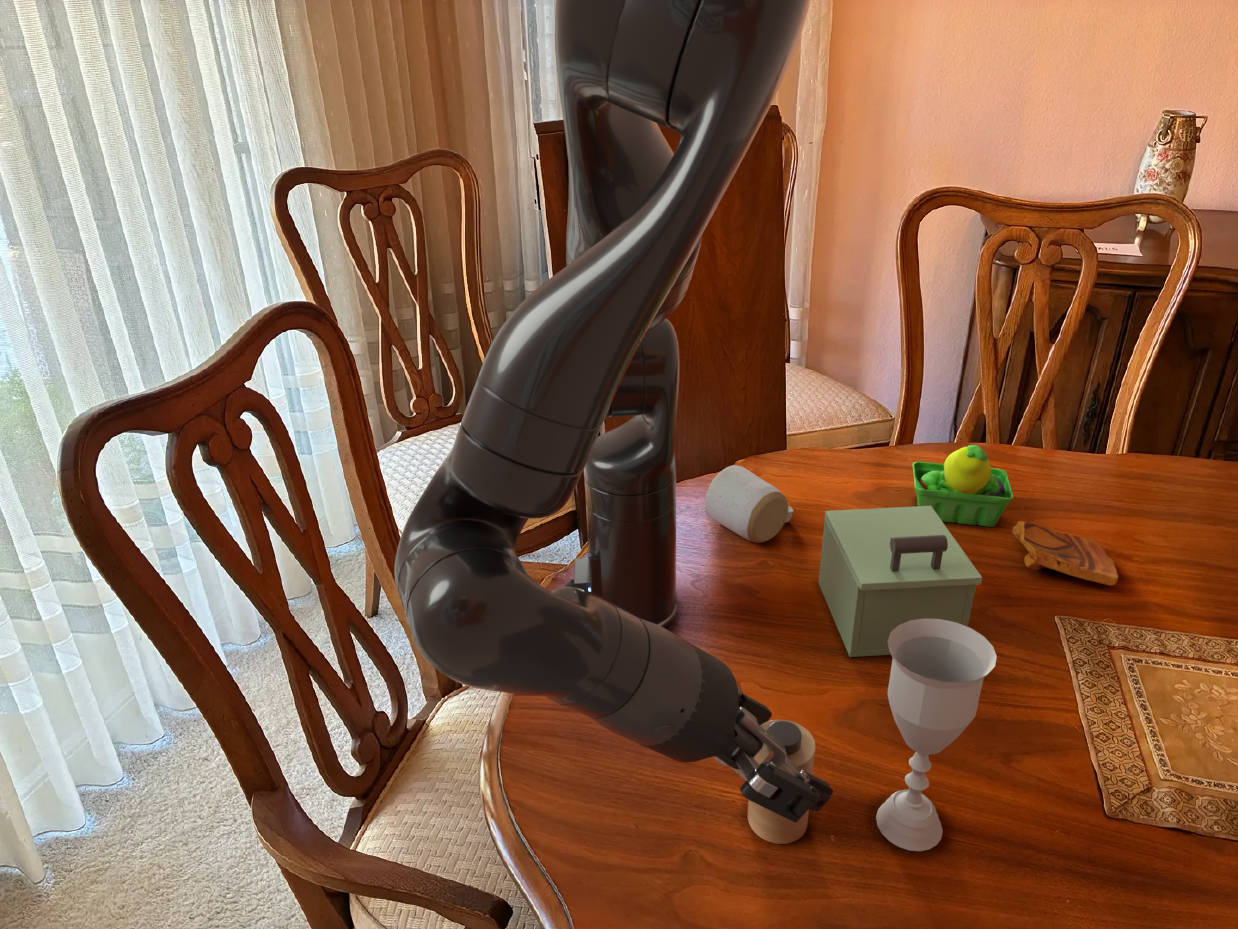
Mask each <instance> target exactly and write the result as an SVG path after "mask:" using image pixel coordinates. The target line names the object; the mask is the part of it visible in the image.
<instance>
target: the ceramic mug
mask: <svg viewBox="0 0 1238 929" xmlns="http://www.w3.org/2000/svg"><path fill="white" fill-rule="evenodd" d="M704 509H705V512H706V514H707V516H708V517H709V518H710V519H711V520H713V521H714V522H716V523H718V524H720V525H721V526H723V527H725V528H726V529H728V530H730V531H732V532H734V533H735V534H736V535H738V536H740V537H741V538H743V539H745V540H747V541H749V542H752V543H756V544H761V543H765V542H767V541H770V540H771V539H773V538H774V537H775V536H776V535H777V534H778V533H779V532H780V531H781V530H782V528H783V527H784V525H785V523H789V522H790V521H791V520H792V517H793V514H794V509H793V508H792V507H791V505H789V503H788V499H787V497H786V495H785V494H784V493H783V492H782V491H780V490H779V489H778V488H777V487H775V486H774V485H773V484H771V483H769V482H767V481H765V480H764V479H762V478H761V477H760V476H758V475H756V474H755V473H753V472H752V471H750V470H748V469H747V468H745V467H743V466H742V465H735V464H733V465H730V466H727V467H725V468H724V469H722V470H721V471H720V472H718V473H717V474H716V475H715V477H714V478H713V479H712V481H711V482H710V484H709V485H708V488H707V491H706V494H705V498H704Z"/></svg>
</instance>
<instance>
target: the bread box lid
mask: <svg viewBox="0 0 1238 929" xmlns="http://www.w3.org/2000/svg"><path fill="white" fill-rule="evenodd" d="M825 518H826V521H827V523H828V525H829V527H830V529H831V531H832V533H833V535H834V537H835V539H836V541H837V543H838V545H839V547H840V549H841V551H842V553H843V555H844V557H845V559H846V561H847V563H848V566H849V568H850V570H851V572H852V574H853V576H854V578H855V580H856V582H857V584H858V586H859V588H860V590H861V591H863V590H882V589H901V588H919V587H938V586H957V585H976V586H977V585H982V582H983V581H982V580H983V577H982V574H981V573H980V572H979V571H978V569H977V568H976V567H975V565H974V564H973V563H972V561H971V560H970V559H969V558H970V557H968V555H967V554H966V553H965V551H964V550H963V548H962V547H961V546H960V544H959V542H958V541H957V540H956V538H955V537H954V536H953V535H952V533H951V532H950V530H949V529H948V527H947V525H946V524H944V523H945V522H942V521H941V519H940V518H939V516H938V515H937V513H936V512H935V511H934V509H933V508H932V506H918V505H917V506H897V507H880V508H878V507H877V508H860V509H859V508H858V509H856V508H855V509H837V510H825V511H824V519H825Z"/></svg>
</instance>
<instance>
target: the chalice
mask: <svg viewBox="0 0 1238 929" xmlns="http://www.w3.org/2000/svg"><path fill="white" fill-rule="evenodd" d="M887 642H888V647H889V651H890V653H891V655H890V656H891V658H892V660H891V667H890V675H889V681H888V687H887V692H886V693H887V699H888V704H889V707H890V711H891V713H892V717H893V721H894V722H895V724H896V727H897V728H898V731H899V732H900V734H901V737H902V738H903V740H904V742H905V745H907V747H908V748H910V749H911V750H912V751H915V753H914V754H913V756H912V757H910V758H909V759H908V765H909V767H910V768H911V772H909V773H906V775H905V776H904V782H905V784H906V785H907V787H908V789H907V788H905V789H901V790H897V791H895V792H894V793H892V794H891V795H890V796H889V797H888V798H887V799H886V800H885V802H883V803H881V805H880V806H879V808H878V809H877V812H876V816H875V820H876V826H877V828H878V829H879V831H880V834H881V835H882V836H883V837H885V839H886V840H887V841H888V842H890V843H891V844H893V845H895V846H896V847H897V848H901V849H903V850H907V851H911V852H923V851H928V850H931V849H932V848H934V847H936V846H937V845H938V844H939V843H940V842H941V840H942V837H943V831H944V830H943V827H942V822H941V820H940V819H939V814H938V813H937V809H936V807H935V805H934V803H933V802H932V800H930V799H929V797H927V796H926V795H925V794H923V791H924V790H926V789H928V788H929V786H930V781H929V779H928V777H927V776H926V773H927V772H928V771H930V770H931V769H932V762H931V761H930V757H929V755H930V756H931V755H936V754H938V753H940V752H942V751H943V750H945V749H946V748H948V746H949V745H951V744H952V743H953V742H954V741H955V740H957V739H958V738H959V737H960V736H961V734H962V733H963V732H964V731H965V730H966V728H968V726H969V725H970V724H971V722H972V721H973V720H974V719H975V717H976V715H977V711H978V706H979V702H980V698H981V693H982V688H983V685H984V684H983V683H984V678H986V676H988V675H989V674H990V672H992V670H993V669H994V668H995V667H996V663H997V657H998V656H997V654H996V651H995V649H994V646H993V644H991V642H990V641H989V640H988V639H987V638H986V637H985V636H984V635H982V634H981V633H979V632H978V631H977V630H975V629H973V628H972V627H969V626H968V627H966V626H964V625H961V624H959V623H956V622H951V621H947V620H942V619H925V618H924V619H918V620H911V621H908V622H905V623H903V624H900V625H898V626H897V627H896V628H895V629H894V630H893V631H892V632H891V633H890V636H889V638H888V641H887Z"/></svg>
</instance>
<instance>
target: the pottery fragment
mask: <svg viewBox="0 0 1238 929" xmlns="http://www.w3.org/2000/svg"><path fill="white" fill-rule="evenodd" d="M1011 532H1012V534H1013V535H1014V537H1015V538H1016V539H1017V540H1018V541H1019V542H1020V543H1021V544H1022V545H1023V546H1024V548H1025V549H1026V551H1027V552H1028V553H1027V554H1026V555H1025V556H1024V559H1023V561H1024V564H1025V565H1024V566H1025V567H1026V568H1028V569H1031V570H1034V571H1035V570H1036V571H1038V570H1041V569H1044V568H1047V569H1050V570H1053V571H1057V572H1059V573H1062V574H1065V575H1068V576H1071V577H1075V578H1078V579H1082V580H1086V581H1089V582H1095V583H1098V584H1102V585H1106V586H1114V585H1116V584H1117V583H1118V579H1119V574H1118V569H1117V568H1116V565H1115V561H1114V559H1112V558H1110V557H1109V556H1108V554H1107V552H1106V550H1105V549H1104V548H1102V547H1101V546H1100V545H1099V544H1098V543H1097V542H1096V540H1095V539H1094V538H1093V537H1088V538H1087V537H1082V536H1077V535H1074V534H1069V533H1065V532H1061V531H1057V530H1054V529H1050V528H1047V527H1044V526H1040V525H1037V524H1034V523H1031V522H1028V521H1025V520H1024V521H1023V520H1019V521H1017V522H1016V525H1014V526H1013V528H1012V529H1011Z"/></svg>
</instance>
